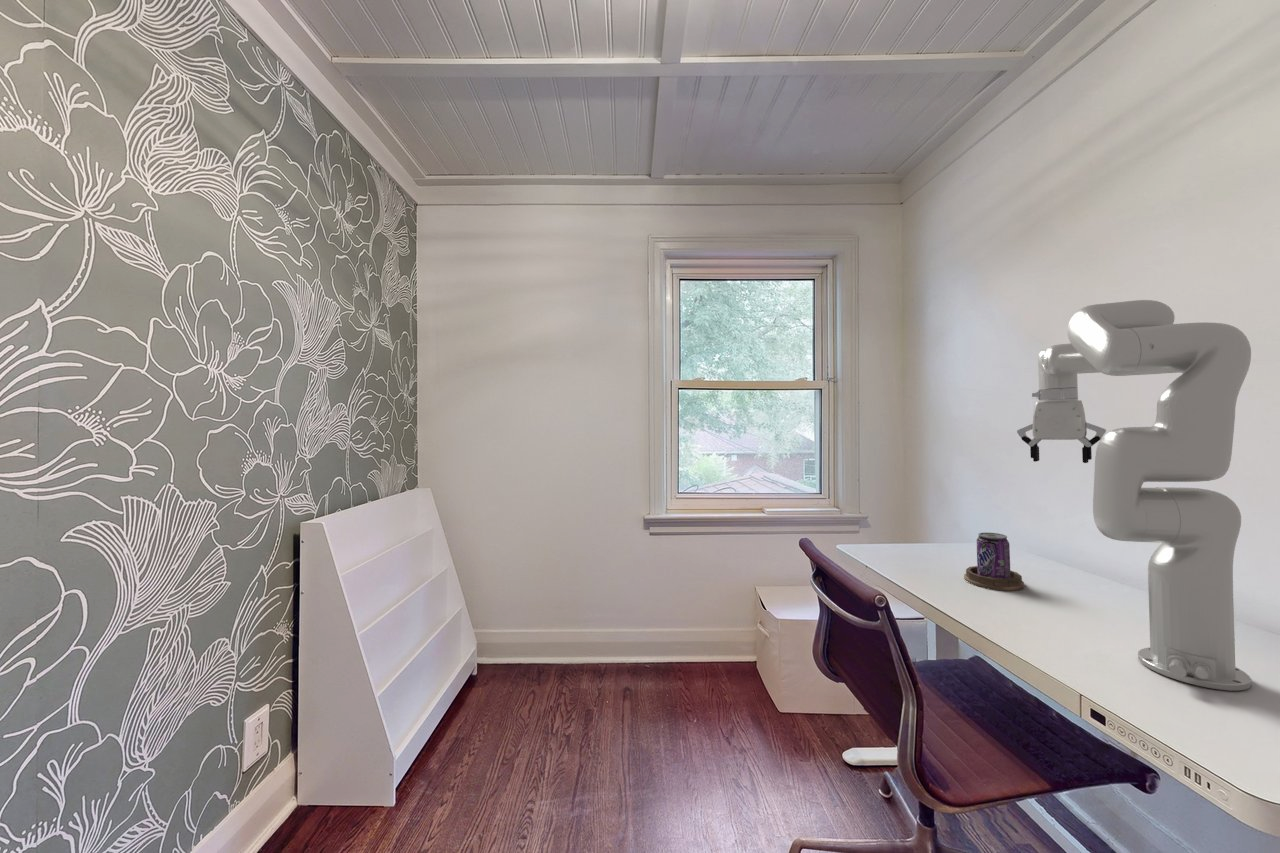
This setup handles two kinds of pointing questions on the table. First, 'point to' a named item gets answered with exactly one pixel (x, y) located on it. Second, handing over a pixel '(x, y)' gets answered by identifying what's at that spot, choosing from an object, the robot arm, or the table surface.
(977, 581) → the walnut coaster
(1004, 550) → the beverage can
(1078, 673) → the table surface
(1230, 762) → the table surface
